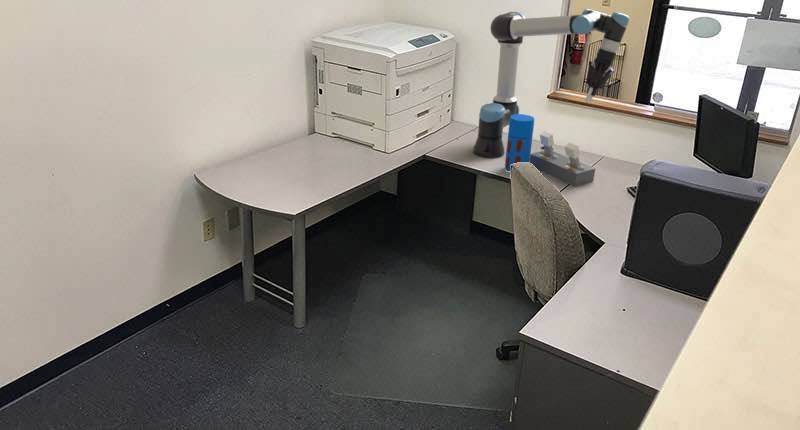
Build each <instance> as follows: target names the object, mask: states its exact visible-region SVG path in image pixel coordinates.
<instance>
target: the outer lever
mask: <svg viewBox="0 0 800 430" xmlns="http://www.w3.org/2000/svg"><path fill="white" fill-rule="evenodd" d="M564 151H565V154H566V155H565V156H566V157H569V159H570V163H571V166H573V167H576V168H578V167H579V166H580V163H579V162H580V159H579V157H580V153H581V152H580V148H579V145H577V144H574V143H571V142H569V143H567V144H566V145H565V146H564Z"/></svg>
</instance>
